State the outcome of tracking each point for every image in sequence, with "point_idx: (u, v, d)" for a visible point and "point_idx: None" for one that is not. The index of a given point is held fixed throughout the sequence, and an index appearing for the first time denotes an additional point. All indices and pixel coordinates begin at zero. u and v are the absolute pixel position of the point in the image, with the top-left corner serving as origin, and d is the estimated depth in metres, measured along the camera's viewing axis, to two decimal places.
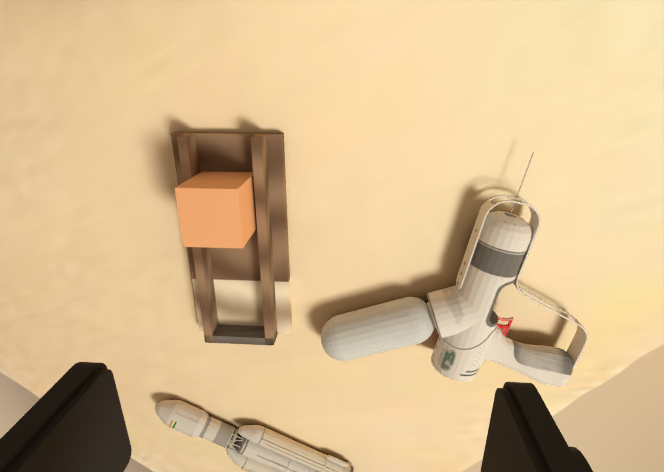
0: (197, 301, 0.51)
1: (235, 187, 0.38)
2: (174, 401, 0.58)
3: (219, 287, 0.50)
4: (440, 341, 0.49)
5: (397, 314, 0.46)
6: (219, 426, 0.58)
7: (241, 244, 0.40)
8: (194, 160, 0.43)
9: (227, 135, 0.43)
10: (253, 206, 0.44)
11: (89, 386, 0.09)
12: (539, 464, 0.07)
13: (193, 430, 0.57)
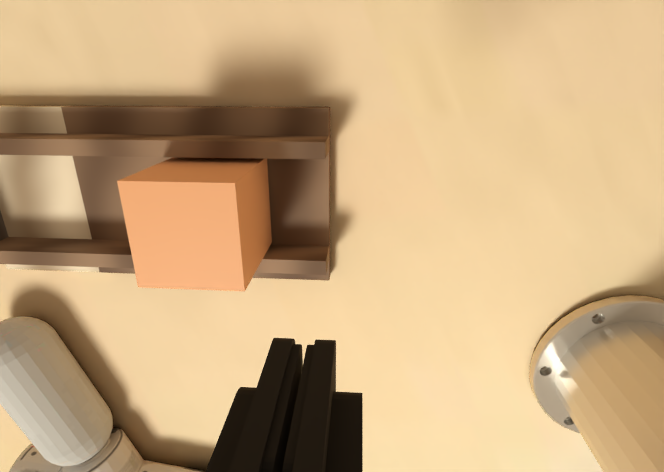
0: (15, 111, 0.27)
1: (247, 280, 0.22)
2: None
3: (56, 157, 0.28)
4: None
5: (78, 428, 0.33)
6: None
7: (145, 286, 0.22)
8: None
9: (326, 203, 0.27)
10: None
11: (294, 359, 0.10)
12: (301, 399, 0.09)
13: None
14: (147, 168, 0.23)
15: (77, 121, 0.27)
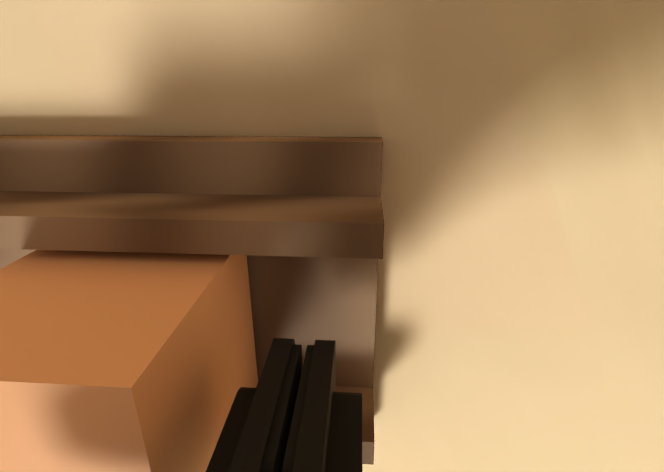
0: None
1: None
2: None
3: None
4: None
5: None
6: None
7: None
8: None
9: (371, 317, 0.14)
10: None
11: (294, 359, 0.10)
12: (301, 399, 0.09)
13: None
14: None
15: None
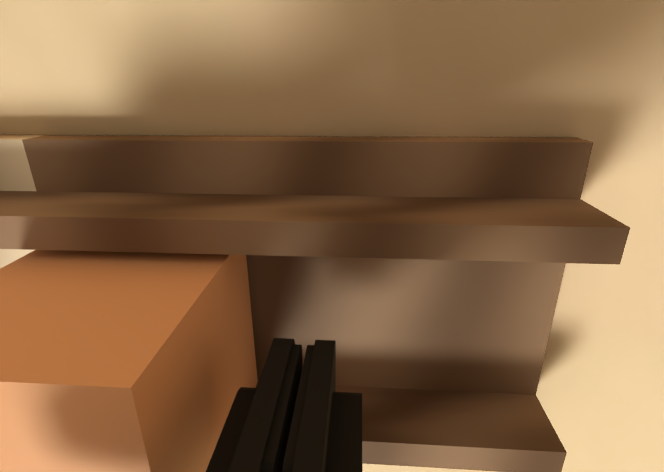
0: None
1: None
2: None
3: None
4: None
5: None
6: None
7: None
8: None
9: (547, 322, 0.14)
10: None
11: (294, 359, 0.10)
12: (301, 399, 0.09)
13: None
14: None
15: (56, 168, 0.13)
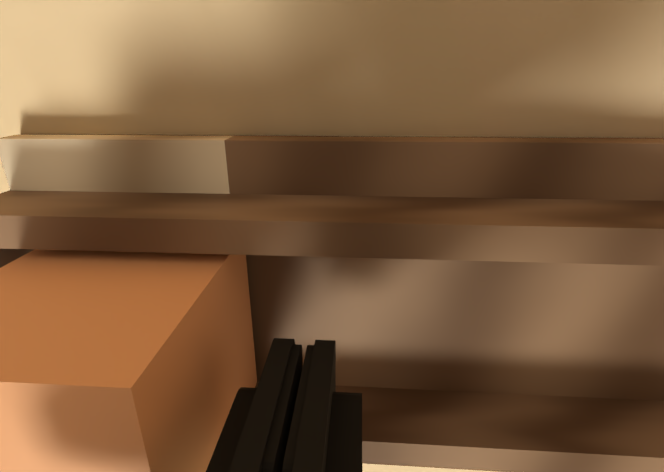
0: (125, 149, 0.13)
1: None
2: None
3: None
4: None
5: None
6: None
7: None
8: None
9: None
10: None
11: (294, 359, 0.10)
12: (301, 399, 0.09)
13: None
14: None
15: (256, 170, 0.13)
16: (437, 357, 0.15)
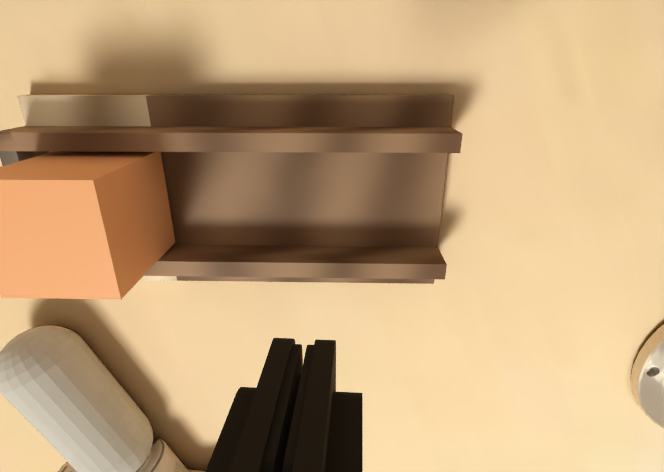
0: (91, 101, 0.23)
1: (125, 286, 0.20)
2: None
3: None
4: None
5: (119, 443, 0.30)
6: None
7: (9, 296, 0.20)
8: None
9: (440, 200, 0.25)
10: None
11: (294, 359, 0.10)
12: (301, 399, 0.09)
13: None
14: (10, 164, 0.21)
15: (164, 112, 0.24)
16: (277, 223, 0.26)
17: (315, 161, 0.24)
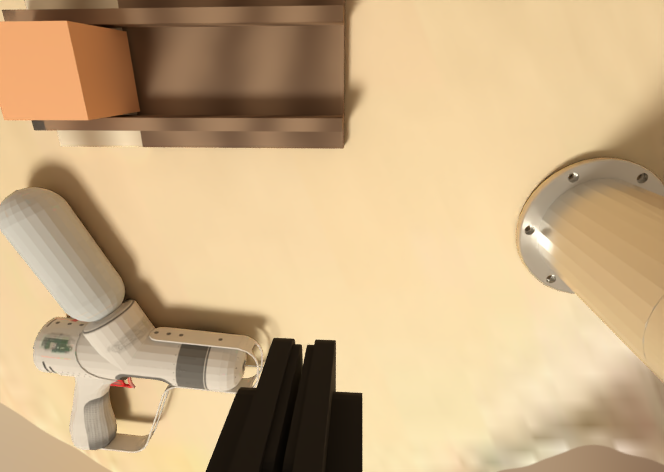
0: None
1: (92, 114, 0.28)
2: None
3: None
4: (78, 328, 0.41)
5: (94, 283, 0.37)
6: None
7: (9, 118, 0.28)
8: (308, 23, 0.30)
9: (342, 73, 0.32)
10: None
11: (294, 359, 0.10)
12: (301, 399, 0.09)
13: None
14: None
15: (129, 1, 0.31)
16: (218, 95, 0.33)
17: (243, 41, 0.32)
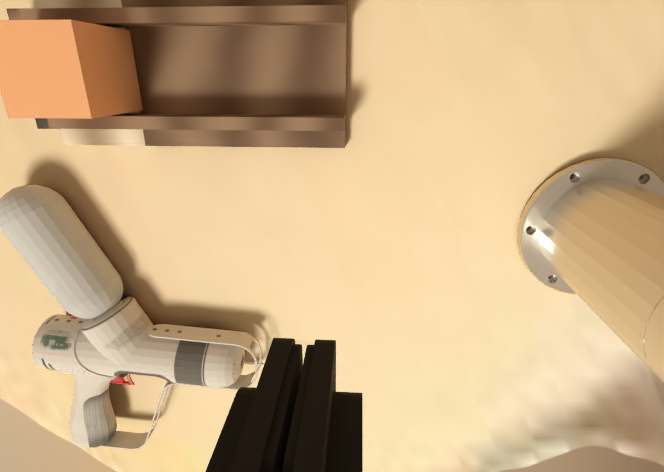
0: None
1: (95, 112, 0.28)
2: None
3: None
4: (77, 325, 0.41)
5: (92, 279, 0.38)
6: None
7: (13, 116, 0.28)
8: (310, 23, 0.30)
9: (344, 73, 0.32)
10: None
11: (294, 359, 0.10)
12: (301, 399, 0.09)
13: None
14: None
15: (132, 1, 0.31)
16: (220, 94, 0.34)
17: (246, 40, 0.32)
